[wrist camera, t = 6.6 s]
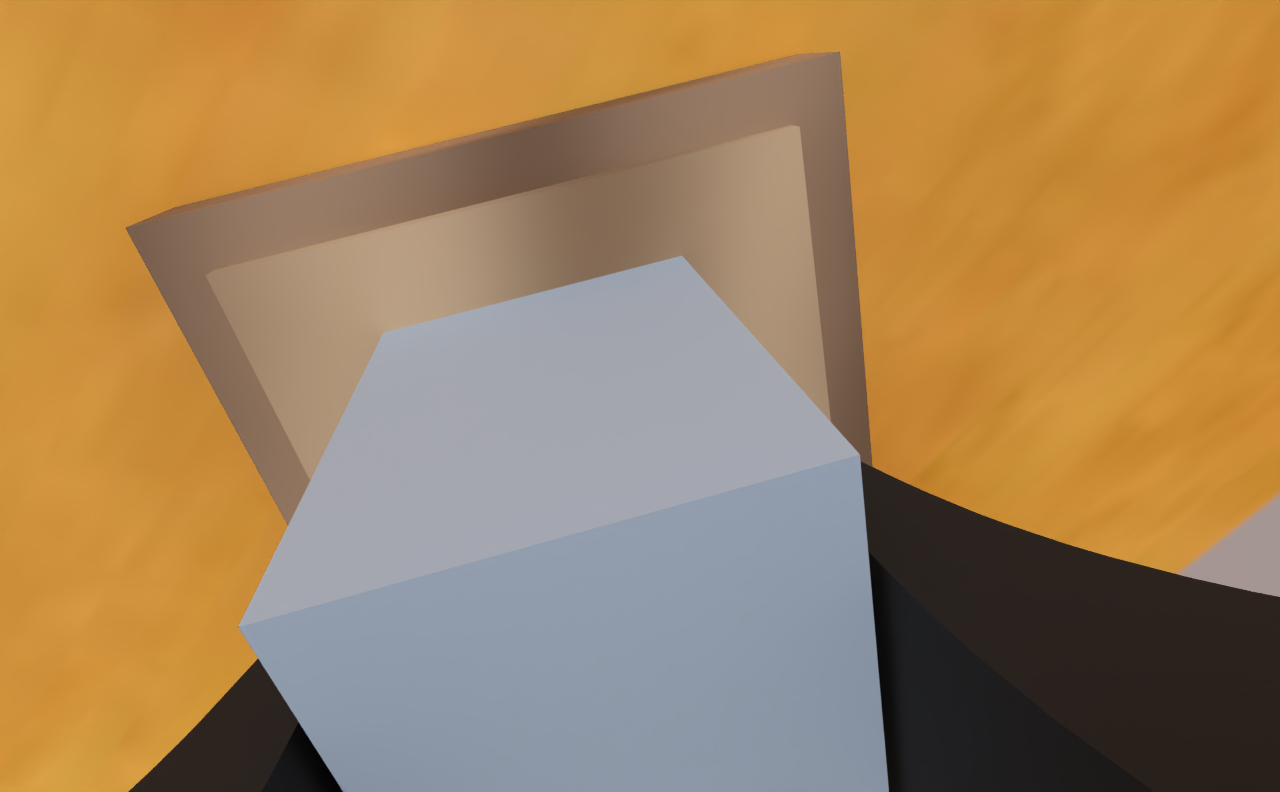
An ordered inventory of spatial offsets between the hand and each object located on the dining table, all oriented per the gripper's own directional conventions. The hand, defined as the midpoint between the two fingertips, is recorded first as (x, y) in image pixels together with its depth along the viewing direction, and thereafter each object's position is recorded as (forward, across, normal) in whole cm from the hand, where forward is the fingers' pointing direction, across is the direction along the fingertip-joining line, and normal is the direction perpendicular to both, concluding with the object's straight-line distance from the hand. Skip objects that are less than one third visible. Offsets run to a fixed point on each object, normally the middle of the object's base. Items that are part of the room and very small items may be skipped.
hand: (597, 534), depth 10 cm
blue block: (+2, 0, -1) cm, 2 cm away
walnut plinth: (+4, 0, 0) cm, 4 cm away
